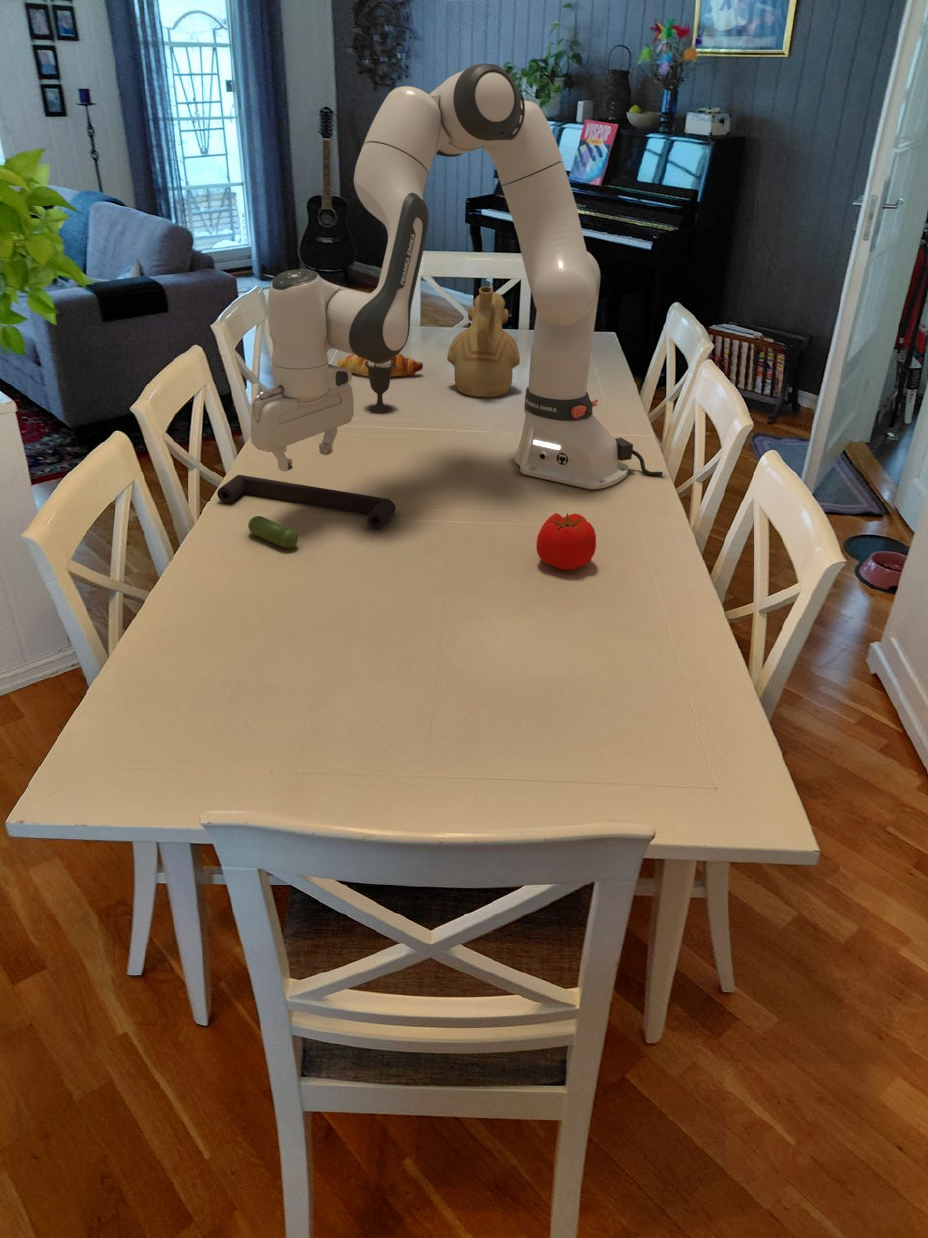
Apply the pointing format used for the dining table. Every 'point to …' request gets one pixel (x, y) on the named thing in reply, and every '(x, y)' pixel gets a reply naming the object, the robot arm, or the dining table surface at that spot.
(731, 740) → the dining table surface
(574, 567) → the tomato
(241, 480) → the handle
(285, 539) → the pickle
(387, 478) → the dining table surface
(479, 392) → the ceramic vessel
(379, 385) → the sundae
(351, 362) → the croissant
